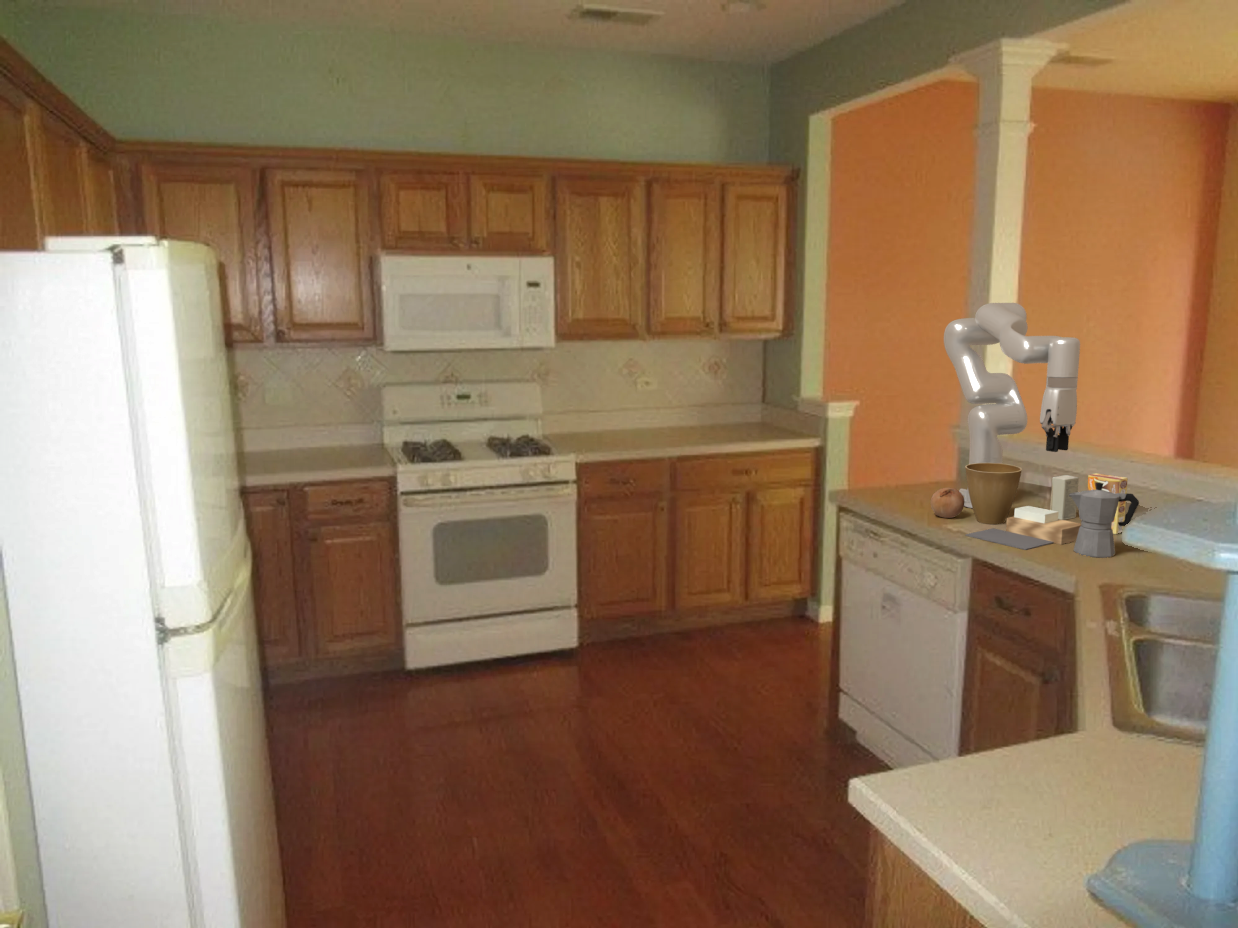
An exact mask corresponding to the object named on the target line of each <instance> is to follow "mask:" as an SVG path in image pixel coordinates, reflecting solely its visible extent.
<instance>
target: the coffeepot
mask: <svg viewBox="0 0 1238 928" xmlns="http://www.w3.org/2000/svg"><path fill="white" fill-rule="evenodd" d="M1102 487H1103V483H1100V482H1099V483H1096V488H1097V489H1096V490H1081V491H1078V492H1075V493H1070V494H1069V496H1070V497H1072V499H1073V500H1074V502H1075V504H1076V506H1077V509H1078V515H1079V517H1078V518H1079V519H1080V520H1081V522H1080V524H1081V526H1080V528H1079V532H1078V535H1077V539H1076V541H1075V543H1074V546H1073V552H1074V553H1076V554H1077V553H1079V554H1078V555H1080V554H1081V555H1080V556H1083V555H1086V556H1085V557H1088V556H1090V557H1089V558H1097V559H1098V558H1099V559H1100V558H1102V559H1103V558H1104V559H1105V558H1106V559H1107V557H1108V558H1112V557H1114V556H1115V554H1116V551H1115V550H1116V549H1115V548H1116V547H1115V541H1114V539H1115V538H1114V534H1113V530H1112V529H1111V525H1112V522H1113V521H1114V518H1115V514H1116V510H1117V506H1118V502H1119V501H1126V502H1130V504H1129V506H1128V509H1127V512H1126V513H1125V520H1124V522H1118V524H1119V526H1124V527H1126V526H1125V525H1126V524H1128V523H1129V522H1130V523H1131V520H1132V518H1133V516H1134V514H1135V513H1136V511H1137V509H1138V507H1139V504H1140V500H1139V499H1138V498H1137V497H1136V496H1135V494H1133V493H1126V494H1124V493H1115V494H1114V493H1111V492H1108V491H1104V490H1102ZM1130 523H1129V524H1130ZM1111 556H1112V557H1111Z"/></svg>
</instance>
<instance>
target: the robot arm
mask: <svg viewBox="0 0 1238 928" xmlns="http://www.w3.org/2000/svg"><path fill="white" fill-rule="evenodd" d="M974 316H975V317H966V318H958V319H955V320H952V321H950V322H949V323H948V324H947V325H946V327H945V329H944V333H943V346H944V349H945V351H946V354H947V356H948V358H949V360H950V362H951V363H952V366H953V367H954V370H955V373H956V376H957V378H958V381H959V382H958V383H959V384H960V388H961V392H962V393H963V396H964V398H965V400H966V401H967V402H968V403H969V404H973V405H976V406H974V407H973V408H971V410H970V411H969V413H968V415H967V427H968V433H969V454H968V465H969V464H974V463H1002V464H1003V457H1004V456H1003V453H1004V449H1003V446H1002V443H1001V442H1000V440H999V438H998V436H1002V435H1003V436H1004V435H1005V436H1006V435H1017V434H1020V433H1022V432H1023V431H1024V430H1025V429H1026V428H1027V425H1028V412H1027V410H1026V407H1025V405H1024V401H1023V399H1022V396H1021V393H1020V390H1019V388H1018V385H1017V383H1016V381H1015V379H1014V378H1013V377H1012V376H1011V375H1009V374H1007V373H1003V372H990V371H988V369H987V368H986V366H985V362H984V359H983V358H982V357H981V355H980V354H979V353H978V352H977V351H976V350H974V349H973V348H972V347H971V346H987V345H988V346H991V345H996V344H999V346H1000V349H1001V352H1002V353H1003V354H1004V355H1005V356H1006V357H1008V358H1009V359H1010V360H1013V361H1014V362H1017V363H1020V364H1024V365H1025V364H1027V365H1029V364H1047V365H1046V367H1047V368H1046V382H1045V383H1046V384H1045V388H1044V393H1043V396H1042V400H1041V407H1040V414H1039V423H1040V424H1041V428H1042V430H1043V431H1044V432H1045V437H1046V444H1045V451H1047V452H1051V453H1053V452H1054V453H1058V452H1059V451H1068V450H1069V442H1070V435H1071V431H1072V429H1073V427H1074V426H1075V425H1076V419H1077V413H1078V412H1077V411H1078V398H1077V397H1078V394H1077V393H1078V392H1077V389H1078V381H1079V380H1078V379H1079V377H1078V376H1079V368H1080V367H1079V365H1080V353H1081V352H1080V351H1081V341H1080V339H1079V338H1077V337H1073V336H1072V337H1069V336H1068V337H1067V336H1066V337H1065V336H1063V337H1062V336H1058V335H1029V336H1028V335H1027V332H1028V322H1027V319H1028V318H1027V316H1028V315H1027V311H1026V308H1024V307H1023V306H1022V305H1021V304H1019V303H1017V302H990V303H985V304H984V305H982V306H980V307H979V308H978V309H977V310H976V313H975V315H974ZM958 491H959V492H960V493H961V494H962V495H963V497H964V501H965V502H964V507H967V508H969V509H973V508H972V504H971V500H970V496H969V491H968V488H967V489H966V488H959V490H958Z"/></svg>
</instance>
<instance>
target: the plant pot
mask: <svg viewBox="0 0 1238 928" xmlns="http://www.w3.org/2000/svg"><path fill="white" fill-rule="evenodd" d="M964 467H965V476H966V477H965V478H966V484H967V489H968V491H969V496H970V500H971V504H972V508H971V509H972V510H973V514H974V517H975V519H976V521H977V522H978V523H980V524H986V525H1002V524H1004V523H1006V522H1005V521H1007V518H1008V515H1009V513H1010V511H1011V509H1012V505H1013V504H1014V502H1015V501H1014V500H1015V498H1016V494H1017V491H1018V488H1019V484H1020V481H1021V475H1022V471H1023V468H1022V467H1021V466H1020V467H1019V466H1016V465H1014V464H1009V463H1003V462H1002V463H974V464H969V463H968V464H966V465H965V466H964Z"/></svg>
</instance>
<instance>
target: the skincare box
mask: <svg viewBox="0 0 1238 928" xmlns="http://www.w3.org/2000/svg"><path fill="white" fill-rule="evenodd" d="M1051 479H1052V480H1051V493H1050V494H1051V495H1050V504H1049V505H1050V507H1049V510H1052V511H1057V512H1059V513H1058V519H1061V520H1065V521H1067V520H1070V519H1074V518H1076V517H1077V509H1078V507H1077V506H1076V504H1075V502H1074V500H1073V499H1072V497H1070V496H1069V494H1070V493H1075V492H1079V482H1080V480H1079V479H1080V477H1079V476H1078V477H1077V476H1073V475H1068V474H1063V475H1057V476H1053V477H1052V478H1051Z"/></svg>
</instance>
